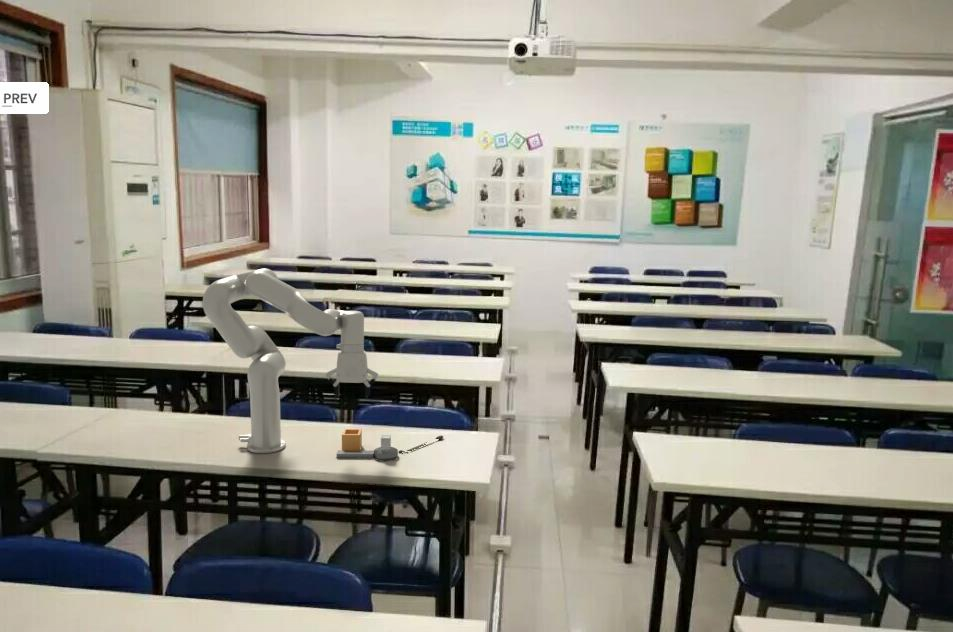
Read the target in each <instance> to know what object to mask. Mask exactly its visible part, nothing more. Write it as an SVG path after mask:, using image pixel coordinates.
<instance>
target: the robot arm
mask: <svg viewBox="0 0 953 632" xmlns="http://www.w3.org/2000/svg"><path fill="white" fill-rule="evenodd" d="M253 297H255V298H257V299H259V300H261V301H263V302H264V303H266V304H269V305H271V306H272V307H274V308H275V309H278V310H280V311H281V312H283V313H285V314H286V315H287V316H288V317H289V318H291V320H293V321H294V322H296V323H297V324H299V325H300V326H301V327H304V328H305V329H308V330H309V331H311V332H313V333H315V334H316V335H319V336H323V337H327V336H328V337H329V336H332V335H333V334H334V333H335V332H338V331H340V343H339V344H337V343H336V349H339V350H340V351H338V354H337V359H336V360H337V361H336V368H334V369H331V370H329V371H327V372H326V373H325V376H326V378H327V380H328V382H329V383H330V384H331V385H332V386H333V389H334V390H333V393H334V396H335V399H339V397H340V383H350V384H351V383H355V384H357V383H358V384H360V383H363V384H364V385H365V388H364V399H366V400H367V399H368V398H369V397H370V395H371V386H372V385H374V383H376V380H377V379H378V377H379V373H378V372H376V371H374V370H372V369H371V368H368V367H369V366H368V357H367V352H366V350H365V349H364V347H365V345H364V344H365V316H364V313H363V312H362V311H359V310H341V309H335V308H328V309H325V310H321V309H319V308H317V307H315V306H314V305H313V304H311V303H309V302H308V301H307V300H305V298H304V297H303V295H302V293H301V292H300V291H299V290H298V288H295V287H293V286H291V285H289V284H287V283H286V282H284V281H283V280H280V279H279V278H278V276H277V274H276V273H275V272H274V271H273V270H272V269H269V268H265V267H264V268H259V269H256V270H251V271H249V272H244V273H243V272H242V273H238V274H234V275H230V276H226V277H223V278H220V279H217V280H215V281H214V282H212V283H210V285H208V287H207V288H206V290H205V292H204V293H203V297H202V309H203V312H204V314H205V316H206V318H207V319H208V320H209V322H210V323H211V325H213V326H214V328H215V329H216V331H217V332H218V333H219V335H220V336H221V337H222V339H223V340H224V341H225V344H227V346H228V347H229V348H230V350H231V351H232V352H233V353H234V355H235V356H237V357H239V359H249V358H250V359H251V360H252V362H251V363H250V365H249V367H248V369H247V381H248V388H249V401H250V403H249V404H250V428H251V429H250V433H249V434H239V435H238V440H239V441H240V443H246V449H247V451H249V452H251V453H253V454H272V453H276V452H278V451H281V450H283V449H285V447H286V445H287V444H286V441H285V440H284V439H282V438H281V437H282V435H281V434H282V433H281V432H282V430H281V395H280V387H279V377H281V375H282V374H283V373H284V371H285V369H286V359H285V357H284V355H283V354H282V352H281V351H280V349H279V348H278V347H277V345H276V343H274V342H273V340H272V338H271V337H270V336H269V335H268V334H267V332H266V331H265V330H264V329H263V328H261V327H260V326H256V325H248V324H247V323H246V322H245V321H244V319H243V318H242V316H241V315H240V314H239V313H238V311H236V310H235V308H233V307H232V305H231V304H233V303H235V302H237V301H240V300H245V299H249V298H253ZM334 374H336V375H335V377H336V380H335V379H334V378H333V375H334ZM368 375H370V376H372V378H371V379H370V380H369V379H368Z"/></svg>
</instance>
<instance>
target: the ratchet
mask: <svg viewBox="0 0 953 632" xmlns="http://www.w3.org/2000/svg"><path fill="white" fill-rule="evenodd" d="M391 437H392V436H391V434H381V436H380V447H376V448H374V449H373V450H342V449H341V450H337V452H336V459H374V458H375V459H374V460H376V461H379V462H390V460H392V461H394V459H395V460H396V458H397V459H398V457H399V450H398V449H397V448H396V447H393V446H391V444H392V441H391V440H392V439H391Z"/></svg>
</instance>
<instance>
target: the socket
mask: <svg viewBox="0 0 953 632" xmlns="http://www.w3.org/2000/svg"><path fill="white" fill-rule="evenodd" d="M362 433H363V430H362V428H344V429H343V431H342V434H341V450H360V449H362V446H363V444H362V443H363V441H362V439H363V435H362ZM360 451H361V450H360Z"/></svg>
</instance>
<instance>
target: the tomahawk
mask: <svg viewBox="0 0 953 632" xmlns="http://www.w3.org/2000/svg"><path fill="white" fill-rule="evenodd" d="M435 439H440V440H442V439H444V436H443V435H438V436H436V438H435ZM427 442H428V441H426V442H424V443H421V444H419V445H417V446H415V447H411V448H409V449H407V450H401V449H400V450H398V454H401V453H402V452H405V451H412V450H414V449H417V448H419V447H421V446H424V445H426V444H425V443H427ZM423 444H424V445H423ZM419 449H420V448H419ZM417 450H418V449H417ZM414 451H415V450H414ZM412 452H413V451H412ZM401 455H403V453H402V454H401Z"/></svg>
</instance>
